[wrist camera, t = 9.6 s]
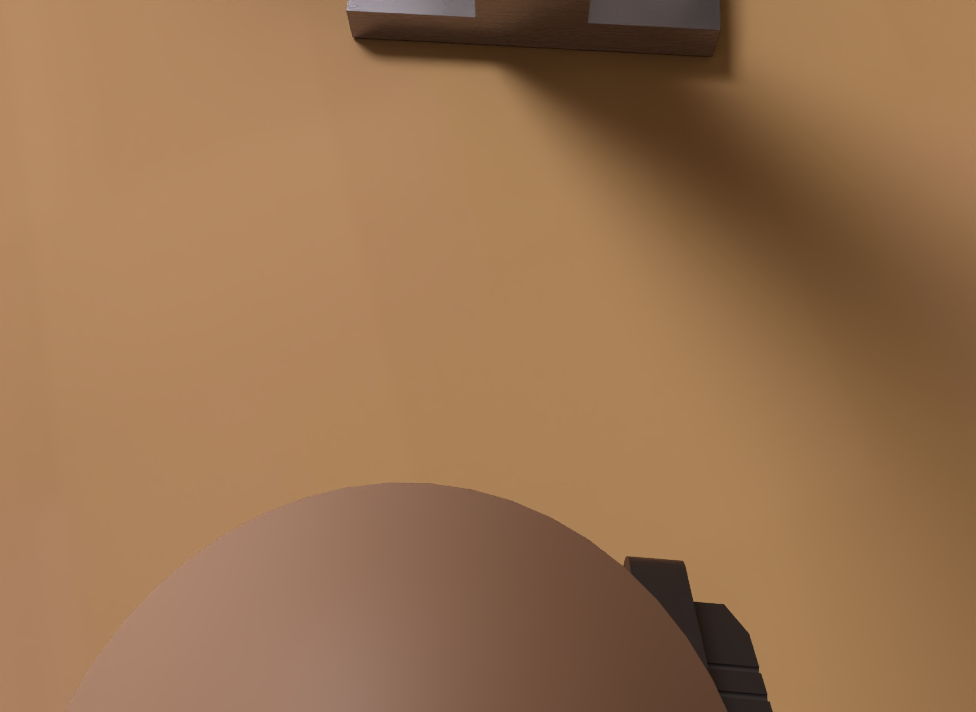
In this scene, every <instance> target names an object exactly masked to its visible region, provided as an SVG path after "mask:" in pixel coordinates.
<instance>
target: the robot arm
mask: <svg viewBox="0 0 976 712" xmlns="http://www.w3.org/2000/svg"><path fill="white" fill-rule="evenodd" d="M623 567H625V568H626V569H627V570H628V571H629V572H630V573H631V574H632V575H633V576H634V577H635V578H636V579H637V580H638V581H639V582H640V583H641V584H642V585H643V586H644V587H645V588H646V589H647V590H648V591H649V592H650V593H651V594H652V595H653V596H654V597H655V598H656V599H657V600H658V601H659V603H660V604H661V605H662V607H663V608H664V609H665V610H666V612H667V613H668V614H669V615H670V617H671V618H672V619H673V620H674V622H675V623H676V624H677V626H678V627H679V628H680V629H681V631H682V632H683V633H684V634H685V636H686V637H687V639H688V640H689V642H690V643H691V645H692V647H693V648H694V650H695V652H696V653H697V655H698V656H699V658H700V660H701V661H702V663H703V665H704V666H705V668H706V670H707V671H708V673H709V674H710V676H711V678H712V679H713V681H714V684H715V686H716V688H717V690H718V692H719V694H720V697H721V699H722V701H723V703H724V705H725V707H726V710H727V712H773V711H772V708H771V705H770V702H768V701H767V692H766V688H765V685H764V682H763V678H762V675H761V673H759V665H758V662H757V658H756V655H755V652H754V649H753V645H752V642H751V639H750V635H749V633H748V632H747V631H746V630H745V629H744V627H743V626H742V625H741V624H740V623H739V621H738V620H737V619H736V618H735V617H734V616H733V614H732V613H731V612H730V611H729V610H728V609H727V607H726V606H725V605H724V604H714V603H702V602H693V598H692V594H691V589H690V585H689V580H688V576H687V572H686V567H685V564H684V562H683V561H678V560H666V559H654V558H642V557H629V556H626V558H625V561H624V566H623Z"/></svg>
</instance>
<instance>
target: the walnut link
mask: <svg viewBox="0 0 976 712" xmlns="http://www.w3.org/2000/svg"><path fill="white" fill-rule="evenodd" d="M65 712H727V710H726V707H725V705H724V703H723V701H722V699H721V697H720V694H719V692H718V690H717V688H716V686H715V684H714V681H713V679H712V678H711V676H710V674H709V673H708V671H707V670H706V668H705V666H704V665H703V663H702V661H701V660H700V658H699V656H698V655H697V653H696V652H695V650H694V648H693V647H692V645H691V643H690V642H689V640H688V639H687V637H686V636H685V634H684V633H683V632H682V631H681V629H680V628H679V627H678V626H677V624H676V623H675V622H674V620H673V619H672V618H671V617H670V615H669V614H668V613H667V612H666V610H665V609H664V608H663V607H662V605H661V604H660V603H659V601H658V600H657V599H656V598H655V597H654V596H653V595H652V594H651V593H650V592H649V591H648V590H647V589H646V588H645V587H644V586H643V585H642V584H641V583H640V582H639V581H638V580H637V579H636V578H635V577H634V576H633V575H632V574H631V573H630V572H629V571H628V570H627V569H626V568H625V567H623V566H622V565H621V564H620V563H618V562H617V561H616V560H614V559H613V558H612V557H610V556H609V555H608V554H607V553H605V552H604V551H603V550H601V549H600V548H599V547H598V546H596V545H595V544H594V543H592V542H591V541H590V540H588V539H587V538H585V537H583V536H582V535H580V534H578V533H576V532H575V531H573V530H571V529H570V528H568V527H566V526H565V525H563V524H561V523H559V522H558V521H556V520H554V519H553V518H551V517H548V516H546V515H544V514H541V513H539V512H537V511H534V510H532V509H530V508H527V507H525V506H523V505H520V504H518V503H516V502H513V501H510V500H507V499H503V498H500V497H496V496H493V495H489V494H486V493H482V492H478V491H475V490H471V489H464V488H458V487H451V486H444V485H437V484H430V483H383V484H374V485H365V486H357V487H348V488H343V489H339V490H335V491H331V492H327V493H323V494H318V495H314V496H310V497H306V498H303V499H301V500H298V501H295V502H293V503H290V504H287V505H285V506H282V507H280V508H277V509H274V510H272V511H269V512H266V513H264V514H262V515H260V516H258V517H256V518H254V519H253V520H251V521H249V522H247V523H245V524H243V525H241V526H239V527H237V528H236V529H234V530H232V531H230V532H228V533H226V534H224V535H223V536H221V537H220V538H219V539H217V540H216V541H214V542H213V543H211V544H210V545H208V546H207V547H206V548H204V549H203V550H201V551H200V552H198V553H197V554H195V555H194V556H192V557H191V558H190V559H188V560H187V561H186V562H185V563H183V564H182V565H181V566H180V567H179V568H178V569H177V570H175V571H174V572H173V573H172V574H171V575H170V576H169V577H167V578H166V579H165V580H164V581H163V582H162V583H161V584H159V585H158V586H157V587H156V588H155V589H154V590H153V591H152V592H151V593H150V594H149V595H148V596H147V597H146V598H145V599H144V600H143V601H142V603H141V604H140V605H139V606H138V607H137V608H136V609H135V610H134V611H133V612H132V613H131V615H130V616H129V617H128V618H127V619H126V620H125V621H124V622H123V623H122V624H121V626H120V627H119V628H118V629H117V631H116V632H115V634H114V635H113V636H112V638H111V639H110V640H109V642H108V643H107V644H106V646H105V647H104V649H103V650H102V651H101V653H100V654H99V655H98V657H97V658H96V660H95V661H94V662H93V664H92V665H91V666H90V668H89V670H88V672H87V673H86V675H85V677H84V678H83V680H82V682H81V684H80V685H79V687H78V689H77V691H76V692H75V694H74V696H73V698H72V699H71V701H70V703H69V705H68V706H67V708H66V710H65Z"/></svg>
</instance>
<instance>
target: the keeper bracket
mask: <svg viewBox="0 0 976 712" xmlns="http://www.w3.org/2000/svg"><path fill="white" fill-rule="evenodd" d="M346 11H347V15H348V20H349V24H350V28H351V33H352V37H354V38H373V39H392V40H411V41H430V42H449V43H468V44H487V45H505V46H524V47H543V48H562V49H581V50H600V51H619V52H638V53H657V54H676V55H694V56H712V55H713V52H714V49H715V46H716V43H717V40H718V37H719V33H720V30H721V23H720V0H348V5H347V10H346Z"/></svg>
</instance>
